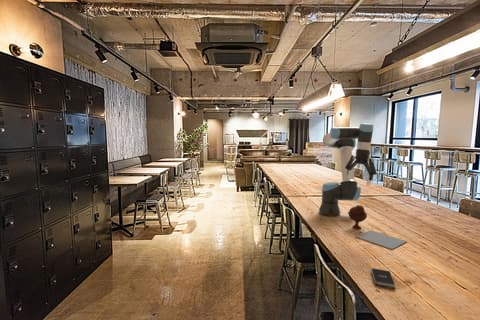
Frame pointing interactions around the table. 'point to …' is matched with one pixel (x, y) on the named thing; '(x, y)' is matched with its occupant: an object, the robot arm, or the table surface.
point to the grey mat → (381, 239)
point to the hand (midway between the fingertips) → (358, 182)
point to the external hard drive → (383, 278)
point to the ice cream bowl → (357, 215)
